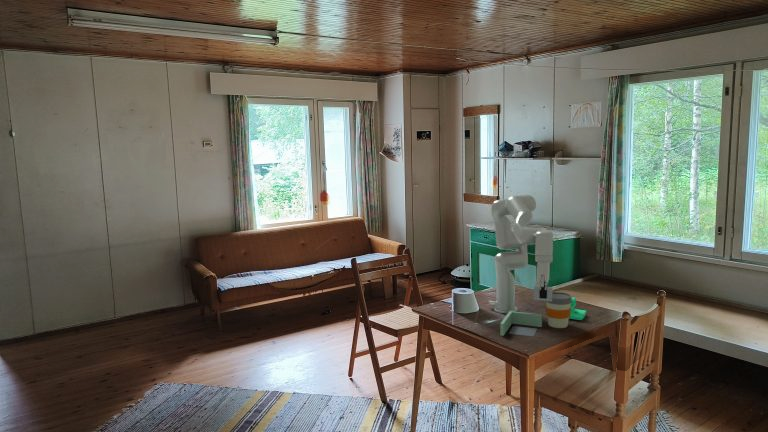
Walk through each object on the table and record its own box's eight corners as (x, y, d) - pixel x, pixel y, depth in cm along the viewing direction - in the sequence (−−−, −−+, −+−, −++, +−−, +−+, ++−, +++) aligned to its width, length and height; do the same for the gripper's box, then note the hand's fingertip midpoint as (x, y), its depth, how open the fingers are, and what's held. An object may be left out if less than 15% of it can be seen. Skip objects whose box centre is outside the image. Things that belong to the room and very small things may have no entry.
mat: (508, 333, 250) (508, 333, 250) (513, 326, 260) (513, 325, 260) (533, 337, 245) (533, 336, 245) (537, 329, 255) (537, 328, 255)
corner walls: (500, 335, 248) (500, 323, 247) (509, 322, 266) (509, 310, 265) (534, 340, 241) (534, 327, 241) (541, 326, 259) (541, 314, 259)
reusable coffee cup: (577, 327, 256) (577, 297, 254) (554, 330, 252) (554, 300, 250) (561, 319, 268) (561, 290, 266) (539, 322, 264) (539, 293, 262)
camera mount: (580, 322, 264) (580, 302, 263) (564, 319, 268) (565, 300, 267) (586, 315, 274) (586, 296, 272) (571, 313, 278) (571, 294, 277)
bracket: (533, 299, 243) (534, 286, 242) (535, 294, 251) (535, 282, 250) (551, 301, 240) (552, 288, 239) (553, 296, 248) (553, 283, 247)
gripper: (537, 253, 249) (536, 292, 251) (533, 261, 234) (533, 301, 237) (553, 254, 246) (553, 293, 249) (551, 262, 231) (550, 303, 234)
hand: (543, 297), depth 243 cm, fingers closed on bracket, 2 cm apart
